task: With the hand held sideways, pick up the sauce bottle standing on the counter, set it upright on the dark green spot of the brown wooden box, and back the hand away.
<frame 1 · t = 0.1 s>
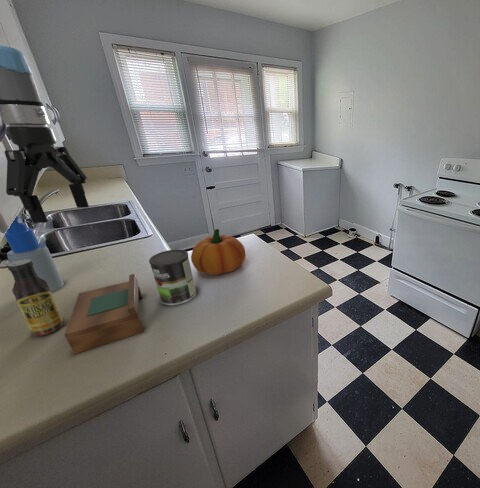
hand: (63, 214, 71), 28 cm above the countertop, tool pointing down, fingers open, 13 cm apart
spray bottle: (46, 289, 90), on the countertop
pumpkin: (221, 267, 104), on the countertop
brown wooden box: (113, 320, 75), on the countertop
sauce bottle: (50, 329, 72), on the countertop
large food can: (179, 296, 86), on the countertop
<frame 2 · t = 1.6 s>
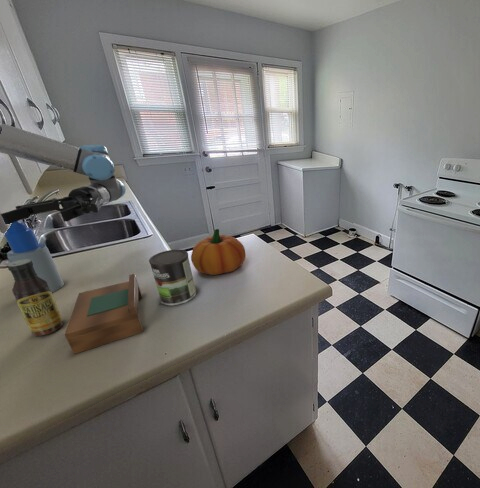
hand: (34, 217, 69), 28 cm above the countertop, tool horizontal, fingers open, 13 cm apart
nothing on the countertop moved.
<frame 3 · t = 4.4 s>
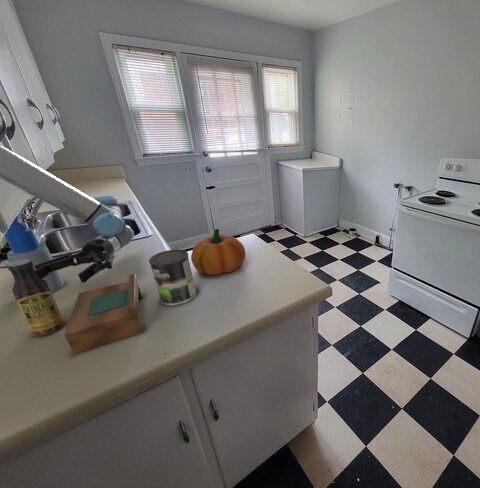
hand: (53, 280, 74), 11 cm above the countertop, tool horizontal, fingers open, 13 cm apart
nothing on the countertop moved.
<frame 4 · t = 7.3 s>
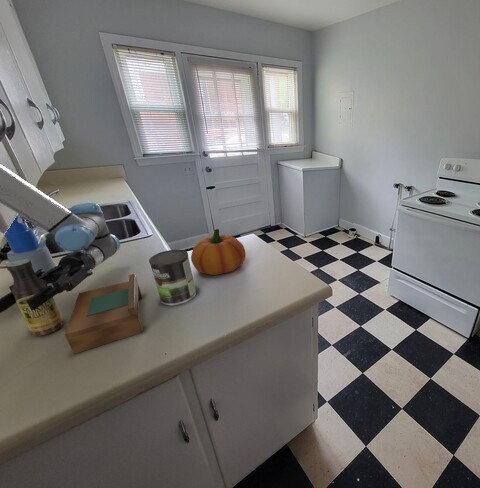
hand: (13, 306, 63), 11 cm above the countertop, tool horizontal, fingers closed on sauce bottle, 6 cm apart
sauce bottle: (50, 329, 72), on the countertop, touching gripper
everything else where it was.
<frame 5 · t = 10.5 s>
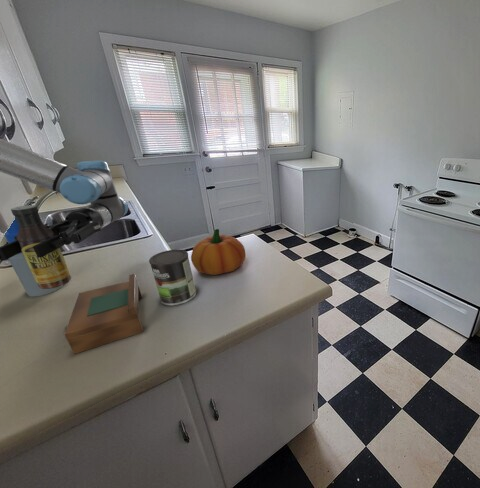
hand: (19, 252, 59), 24 cm above the countertop, tool horizontal, fingers closed on sauce bottle, 6 cm apart
sauce bottle: (57, 284, 68), point 13 cm above the countertop, touching gripper
everything else where it was.
when the fingers open (17 cm above the countertop, at t = 14.0 s): sauce bottle stays where it is, resting on brown wooden box.
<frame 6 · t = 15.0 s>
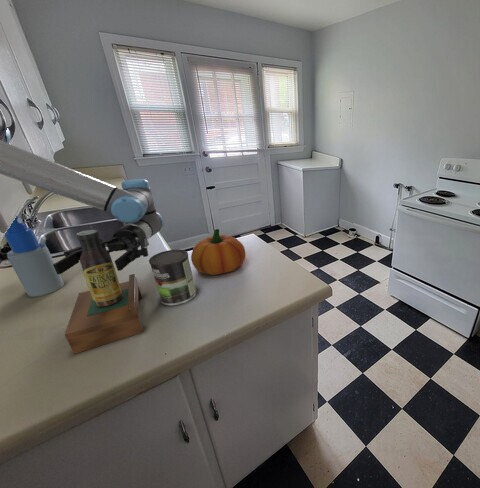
hand: (87, 267, 66), 18 cm above the countertop, tool horizontal, fingers open, 13 cm apart
sauce bottle: (110, 301, 73), point 6 cm above the countertop, touching brown wooden box
everything else where it was.
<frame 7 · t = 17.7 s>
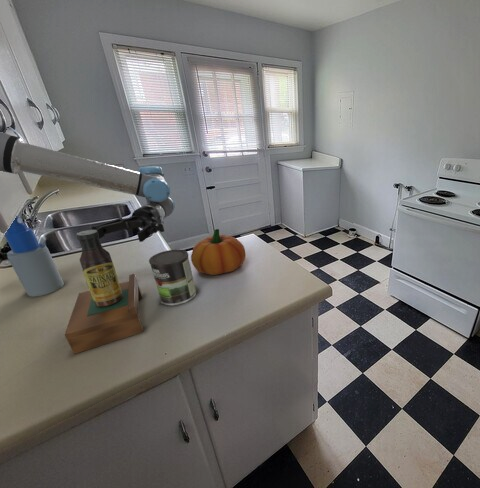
hand: (113, 238, 76), 21 cm above the countertop, tool horizontal, fingers open, 13 cm apart
nothing on the countertop moved.
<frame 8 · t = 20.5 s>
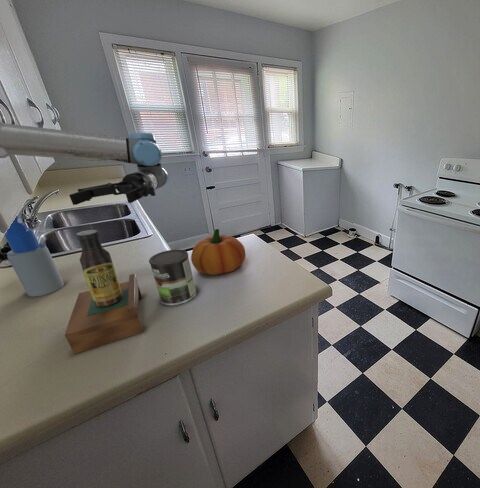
hand: (100, 198, 72), 32 cm above the countertop, tool horizontal, fingers open, 13 cm apart
nothing on the countertop moved.
at the end: sauce bottle 0.0 cm from the target spot, point 6.0 cm above the countertop; sauce bottle tilted 0°; the gripper is holding nothing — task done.
